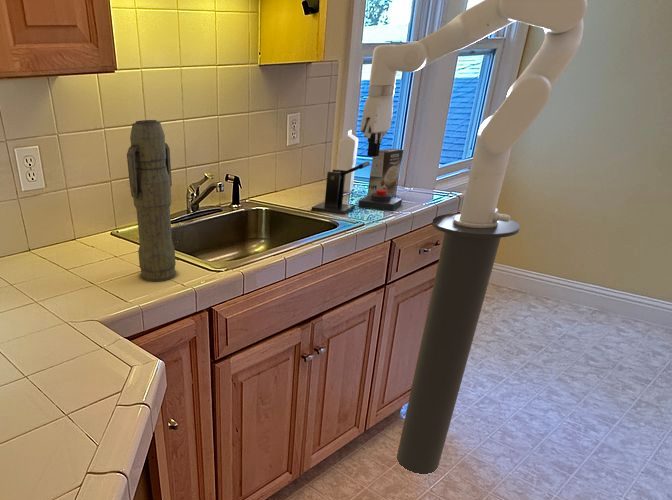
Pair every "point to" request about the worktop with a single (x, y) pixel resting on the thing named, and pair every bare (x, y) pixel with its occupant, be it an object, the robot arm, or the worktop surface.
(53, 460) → the worktop surface
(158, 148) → the grey stone statue
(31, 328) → the worktop surface
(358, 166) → the lever
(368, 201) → the control block
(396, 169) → the coffee box
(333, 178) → the black lever stand
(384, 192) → the setting button
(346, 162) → the milk
